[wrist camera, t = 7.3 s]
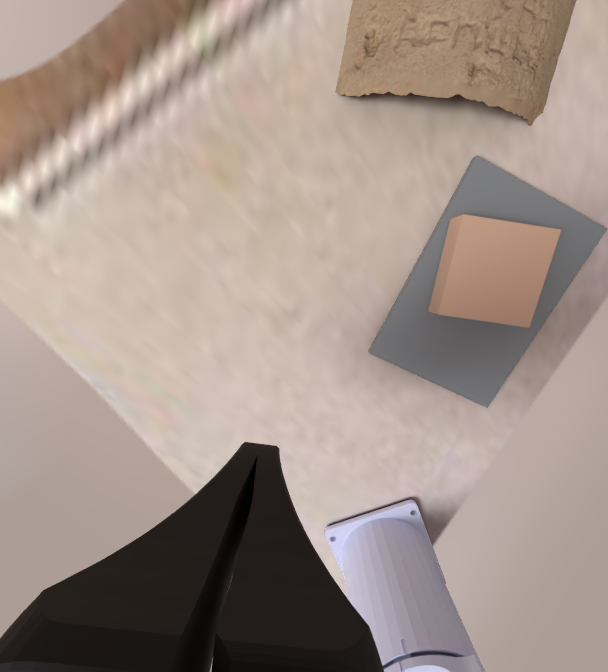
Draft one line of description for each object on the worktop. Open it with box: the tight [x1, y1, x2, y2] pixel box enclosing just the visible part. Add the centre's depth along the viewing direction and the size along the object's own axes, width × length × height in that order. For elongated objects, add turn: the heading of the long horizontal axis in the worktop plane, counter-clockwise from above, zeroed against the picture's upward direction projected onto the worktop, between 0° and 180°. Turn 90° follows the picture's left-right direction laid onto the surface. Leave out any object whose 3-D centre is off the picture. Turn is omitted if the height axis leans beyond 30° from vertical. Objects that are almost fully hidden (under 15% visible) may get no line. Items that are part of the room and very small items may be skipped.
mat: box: [368, 156, 607, 408], centre depth 19 cm, size 14×10×1 cm
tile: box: [428, 214, 561, 328], centre depth 18 cm, size 6×2×6 cm
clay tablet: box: [335, 0, 576, 125], centre depth 15 cm, size 14×10×3 cm
